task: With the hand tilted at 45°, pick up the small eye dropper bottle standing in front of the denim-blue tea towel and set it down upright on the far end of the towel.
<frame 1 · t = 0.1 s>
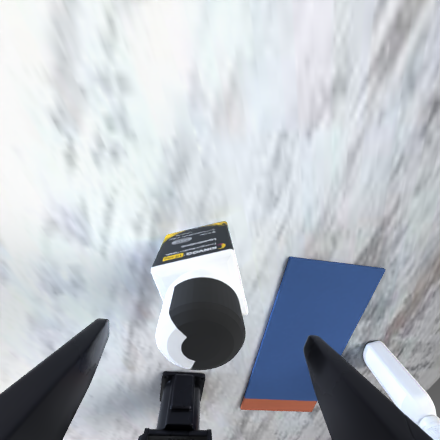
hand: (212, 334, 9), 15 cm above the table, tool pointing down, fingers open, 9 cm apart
medicine bottle: (203, 252, 24), on the table
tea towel: (301, 347, 31), on the table
eye dropper bottle: (372, 350, 32), on the table
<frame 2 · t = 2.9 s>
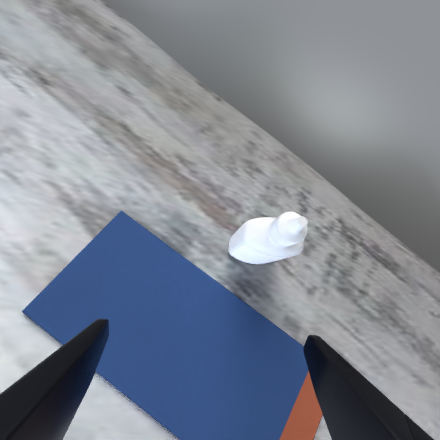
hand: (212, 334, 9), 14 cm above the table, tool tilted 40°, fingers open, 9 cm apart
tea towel: (190, 342, 21), on the table
eye dropper bottle: (249, 249, 25), on the table
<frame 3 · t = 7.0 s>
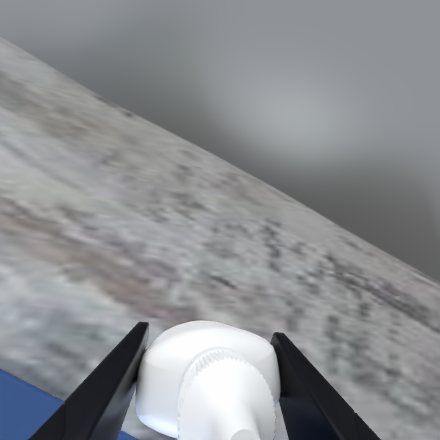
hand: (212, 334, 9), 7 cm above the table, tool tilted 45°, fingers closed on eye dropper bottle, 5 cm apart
eye dropper bottle: (198, 347, 15), on the table, touching gripper
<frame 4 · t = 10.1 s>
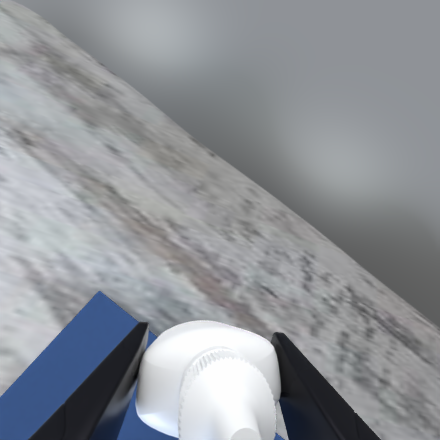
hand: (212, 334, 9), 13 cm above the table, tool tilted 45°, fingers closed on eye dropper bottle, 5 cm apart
eye dropper bottle: (198, 346, 15), point 6 cm above the table, touching gripper
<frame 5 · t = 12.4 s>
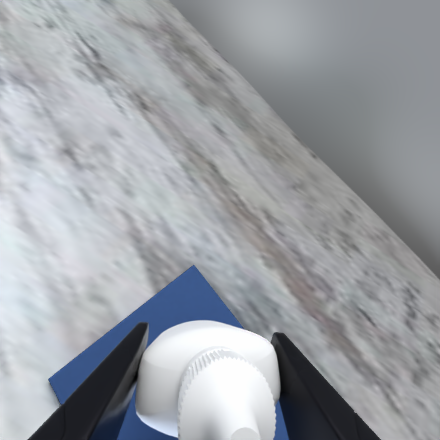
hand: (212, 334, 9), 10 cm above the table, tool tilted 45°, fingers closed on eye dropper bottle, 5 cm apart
eye dropper bottle: (198, 346, 15), point 3 cm above the table, touching gripper
when the fingers open (7 cm above the table, at t = 13.7 s): eye dropper bottle stays where it is, resting on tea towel.
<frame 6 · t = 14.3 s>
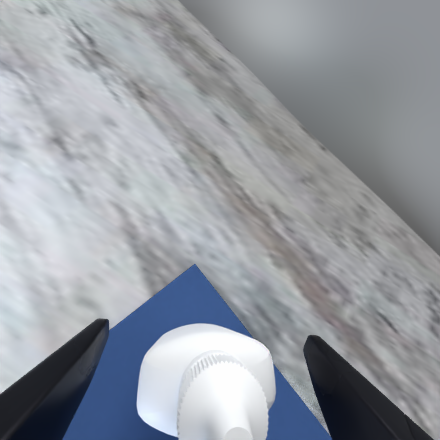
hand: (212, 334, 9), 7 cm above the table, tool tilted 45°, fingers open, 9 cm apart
eye dropper bottle: (198, 349, 15), resting on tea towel
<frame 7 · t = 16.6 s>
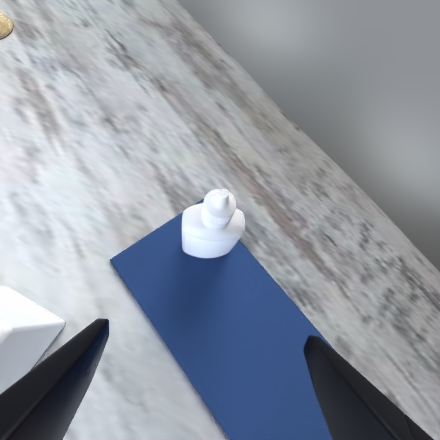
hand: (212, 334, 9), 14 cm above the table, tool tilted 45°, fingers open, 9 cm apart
medicine bottle: (7, 341, 18), on the table
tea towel: (243, 333, 21), on the table
eye dropper bottle: (206, 245, 24), resting on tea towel
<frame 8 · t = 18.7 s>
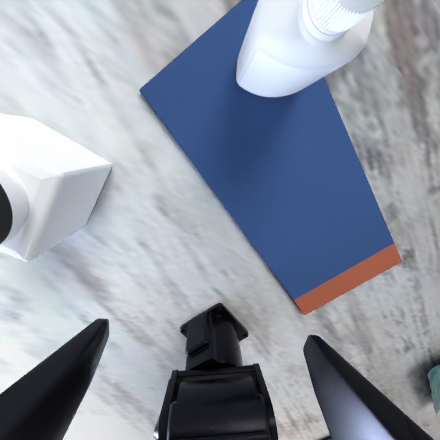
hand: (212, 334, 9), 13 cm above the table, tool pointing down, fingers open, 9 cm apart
medicine bottle: (63, 176, 19), on the table
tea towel: (293, 190, 20), on the table
eye dropper bottle: (269, 74, 17), resting on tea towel
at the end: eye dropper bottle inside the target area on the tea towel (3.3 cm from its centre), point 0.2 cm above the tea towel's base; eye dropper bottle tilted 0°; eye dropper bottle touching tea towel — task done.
